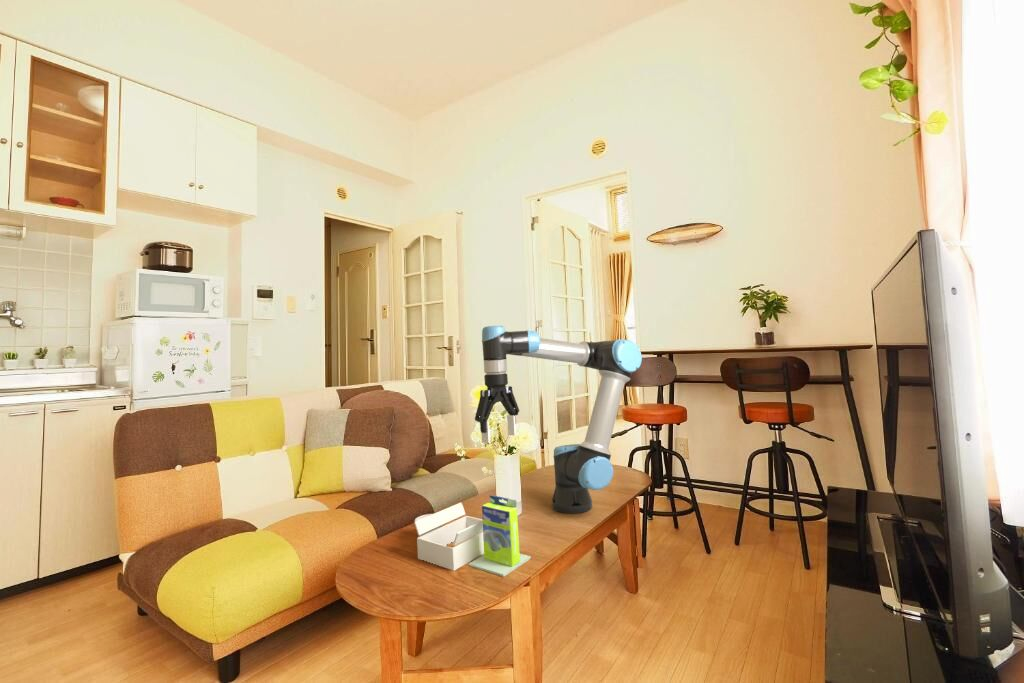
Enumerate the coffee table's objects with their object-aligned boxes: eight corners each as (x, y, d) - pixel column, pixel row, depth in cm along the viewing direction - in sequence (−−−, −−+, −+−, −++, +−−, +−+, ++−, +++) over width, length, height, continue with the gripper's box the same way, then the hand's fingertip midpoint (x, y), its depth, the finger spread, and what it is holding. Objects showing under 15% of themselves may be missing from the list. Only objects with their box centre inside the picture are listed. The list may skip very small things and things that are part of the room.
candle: (414, 535, 154) (413, 516, 155) (441, 530, 157) (440, 512, 157) (417, 545, 146) (416, 525, 146) (445, 540, 149) (444, 520, 149)
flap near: (498, 521, 144) (501, 510, 143) (499, 522, 144) (503, 511, 143) (453, 544, 128) (456, 532, 127) (454, 545, 128) (458, 533, 127)
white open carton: (466, 533, 153) (465, 515, 153) (501, 543, 144) (500, 523, 144) (417, 558, 136) (416, 538, 136) (453, 570, 127) (452, 548, 128)
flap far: (464, 514, 153) (460, 502, 154) (465, 514, 153) (461, 502, 154) (418, 535, 137) (413, 522, 138) (419, 535, 137) (414, 521, 138)
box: (483, 559, 132) (480, 498, 133) (492, 553, 136) (489, 494, 136) (512, 567, 126) (508, 504, 126) (521, 562, 129) (518, 499, 130)
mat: (496, 549, 140) (496, 547, 140) (530, 558, 132) (530, 556, 132) (468, 565, 130) (468, 563, 130) (503, 576, 122) (503, 574, 122)
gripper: (509, 371, 162) (513, 431, 162) (461, 376, 142) (464, 445, 142) (527, 370, 158) (530, 432, 157) (479, 376, 138) (483, 447, 137)
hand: (499, 438), depth 150 cm, fingers open, 13 cm apart
